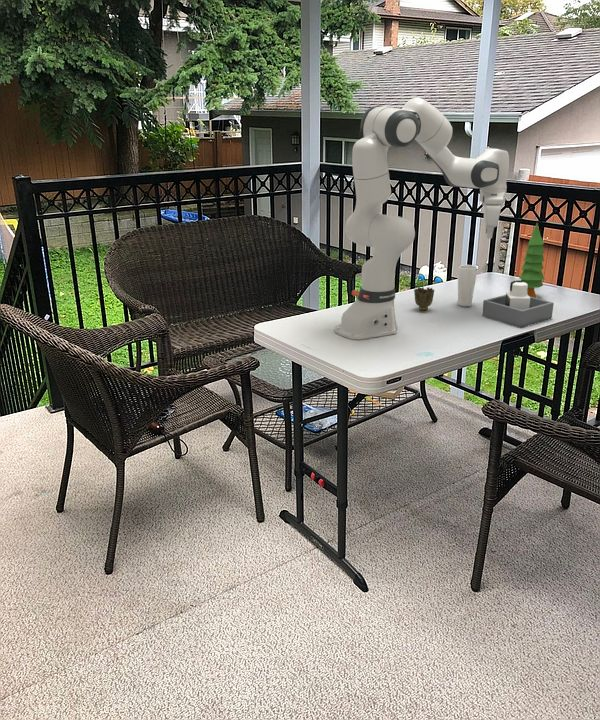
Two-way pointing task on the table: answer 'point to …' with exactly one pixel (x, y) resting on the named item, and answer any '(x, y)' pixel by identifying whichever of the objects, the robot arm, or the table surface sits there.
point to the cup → (423, 297)
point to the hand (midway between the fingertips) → (488, 235)
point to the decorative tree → (533, 263)
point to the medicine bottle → (518, 295)
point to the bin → (517, 311)
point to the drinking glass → (466, 284)
